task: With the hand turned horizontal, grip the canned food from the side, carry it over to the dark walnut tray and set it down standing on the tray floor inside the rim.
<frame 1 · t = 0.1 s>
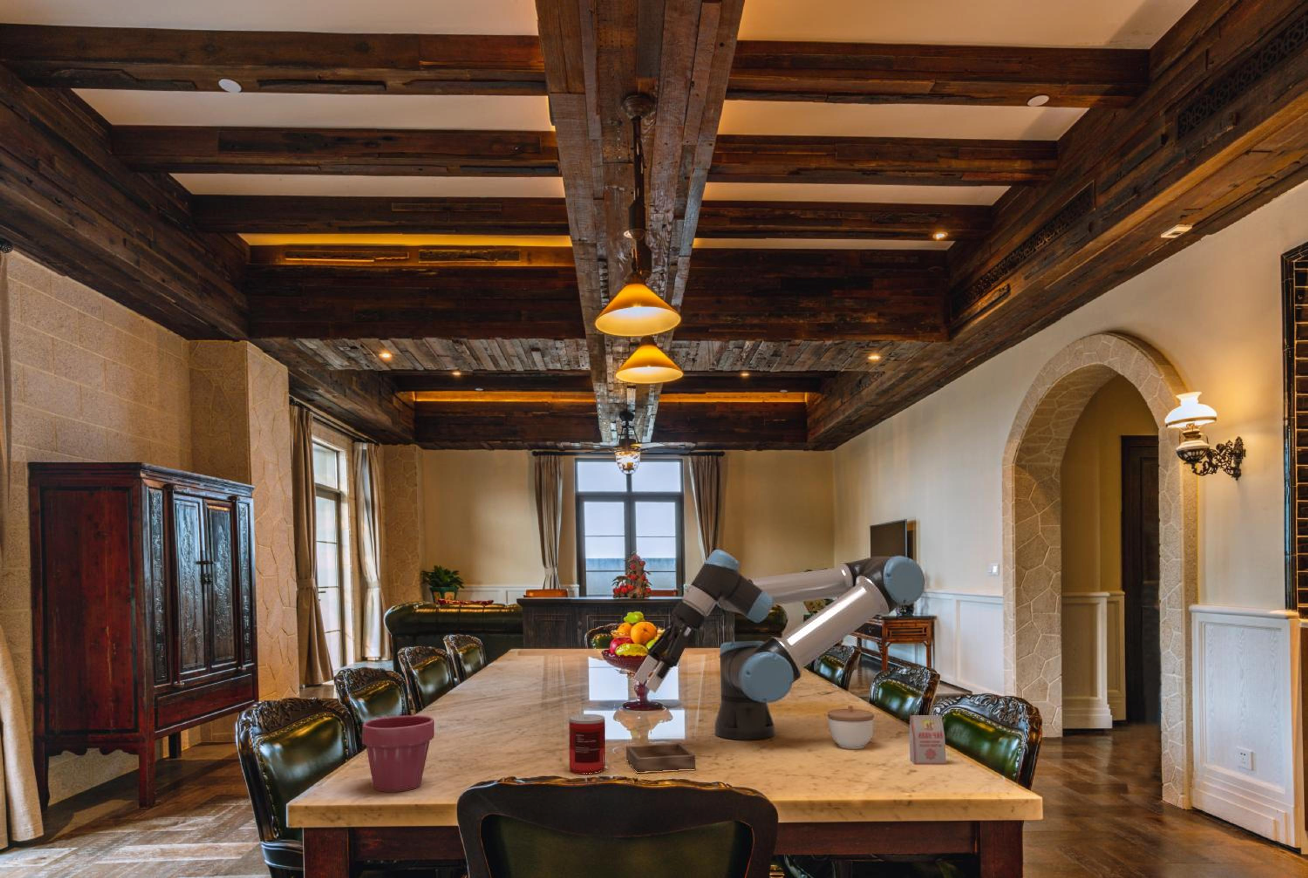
hand: (643, 685, 206), 15 cm above the table, tool tilted 35°, fingers open, 13 cm apart
walnut tray: (660, 765, 192), on the table
lidded jar: (851, 747, 209), on the table
white tea box: (928, 763, 192), on the table
plant pot: (397, 787, 178), on the table
canned food: (587, 771, 189), on the table
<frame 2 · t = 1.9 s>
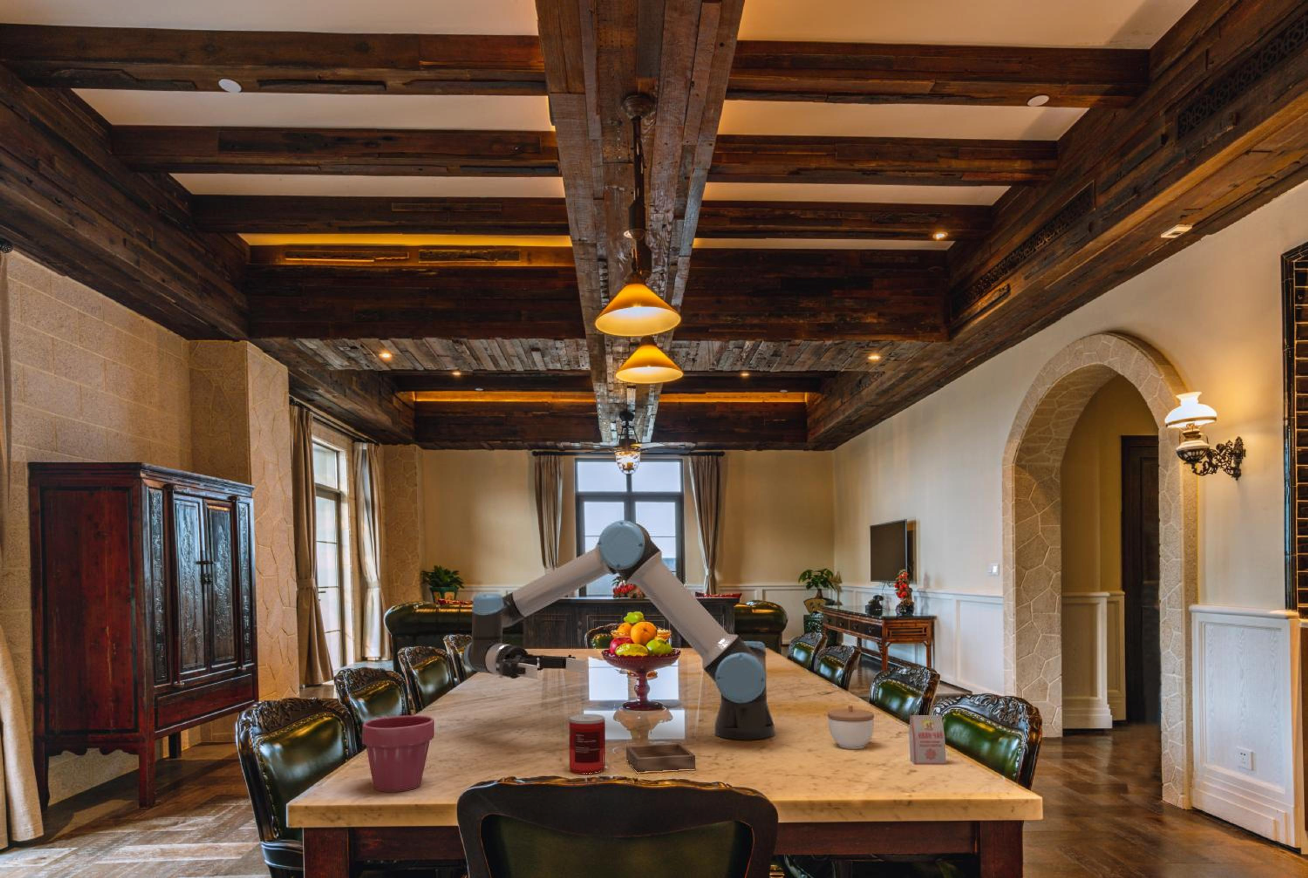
hand: (560, 669, 198), 20 cm above the table, tool horizontal, fingers open, 13 cm apart
nothing on the table moved.
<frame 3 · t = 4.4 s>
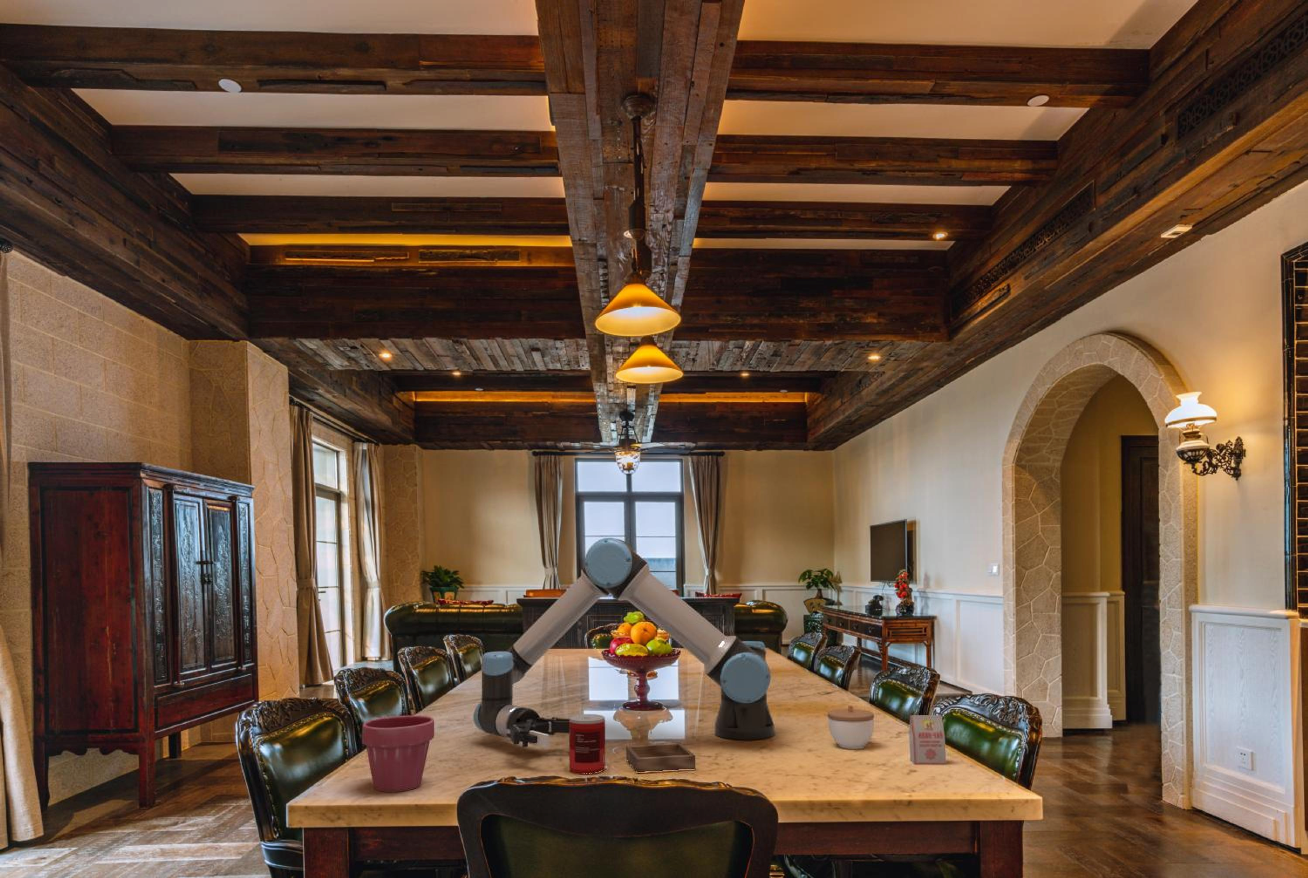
hand: (573, 736, 192), 6 cm above the table, tool horizontal, fingers open, 13 cm apart
nothing on the table moved.
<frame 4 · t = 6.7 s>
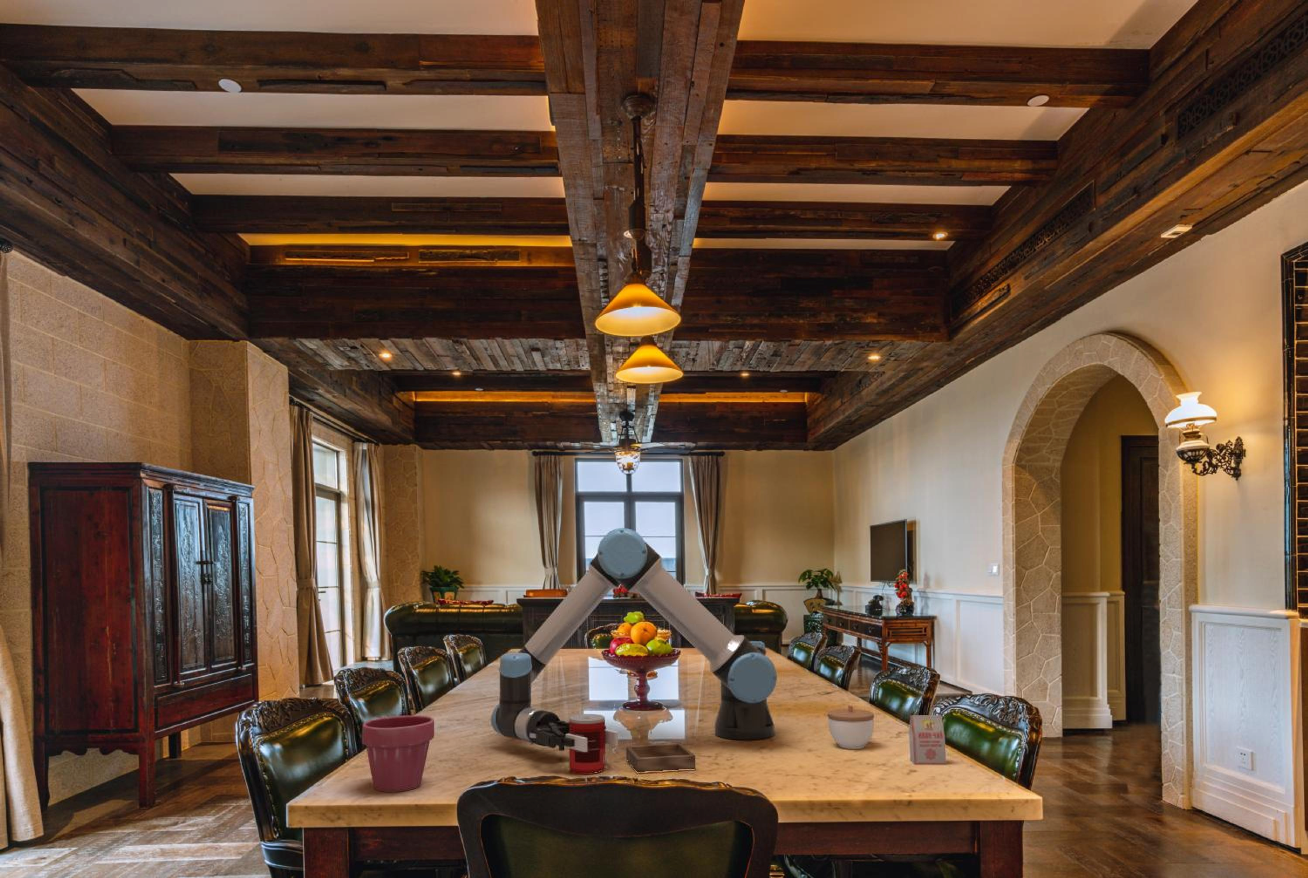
hand: (601, 741, 186), 7 cm above the table, tool horizontal, fingers closed on canned food, 8 cm apart
canned food: (587, 770, 189), on the table, touching gripper
everything else where it was.
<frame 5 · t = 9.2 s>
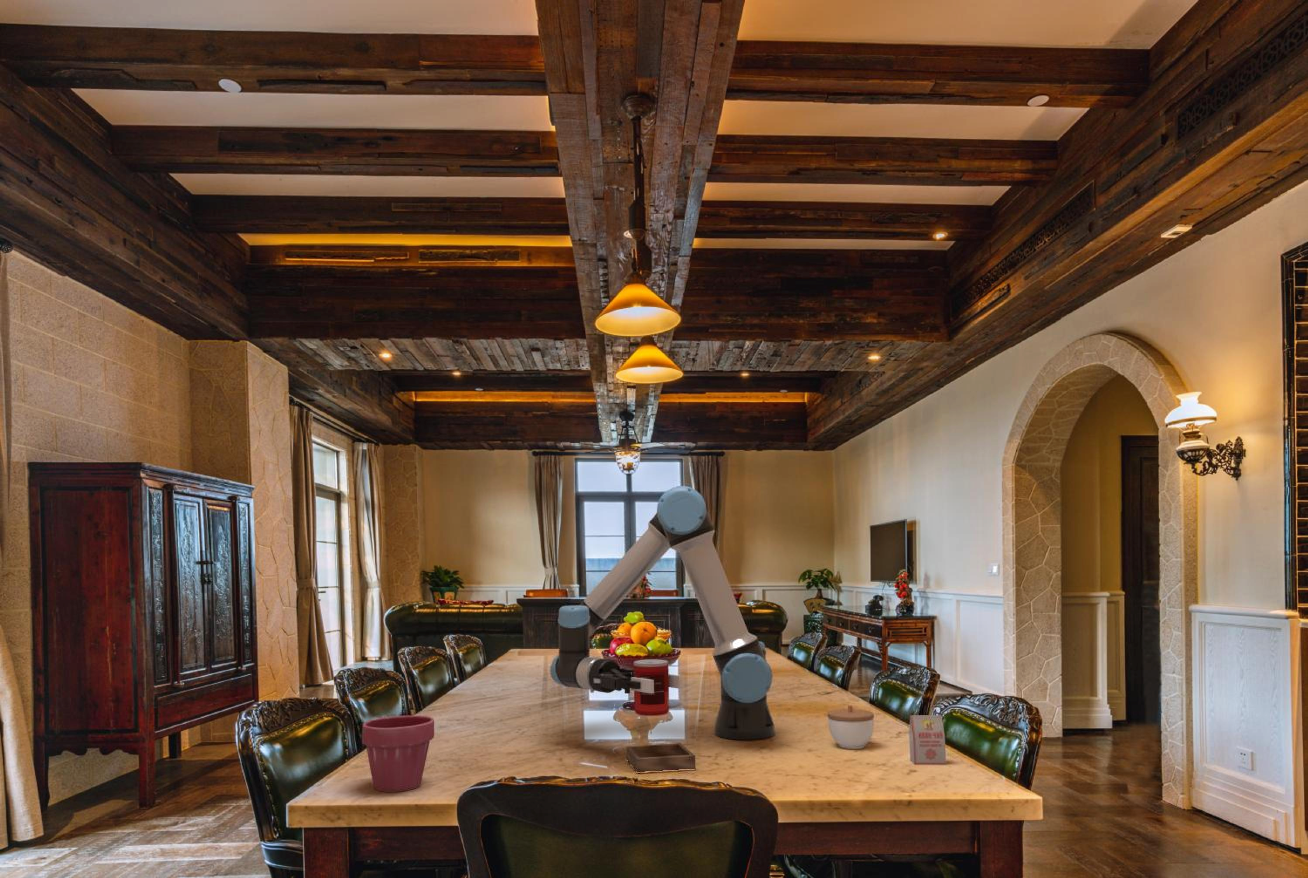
hand: (666, 684, 191), 18 cm above the table, tool horizontal, fingers closed on canned food, 8 cm apart
canned food: (651, 713, 194), point 11 cm above the table, touching gripper
everything else where it was.
when the fingers open (8 cm above the table, at t = 12.0 s): canned food drops 1 cm, resting on walnut tray.
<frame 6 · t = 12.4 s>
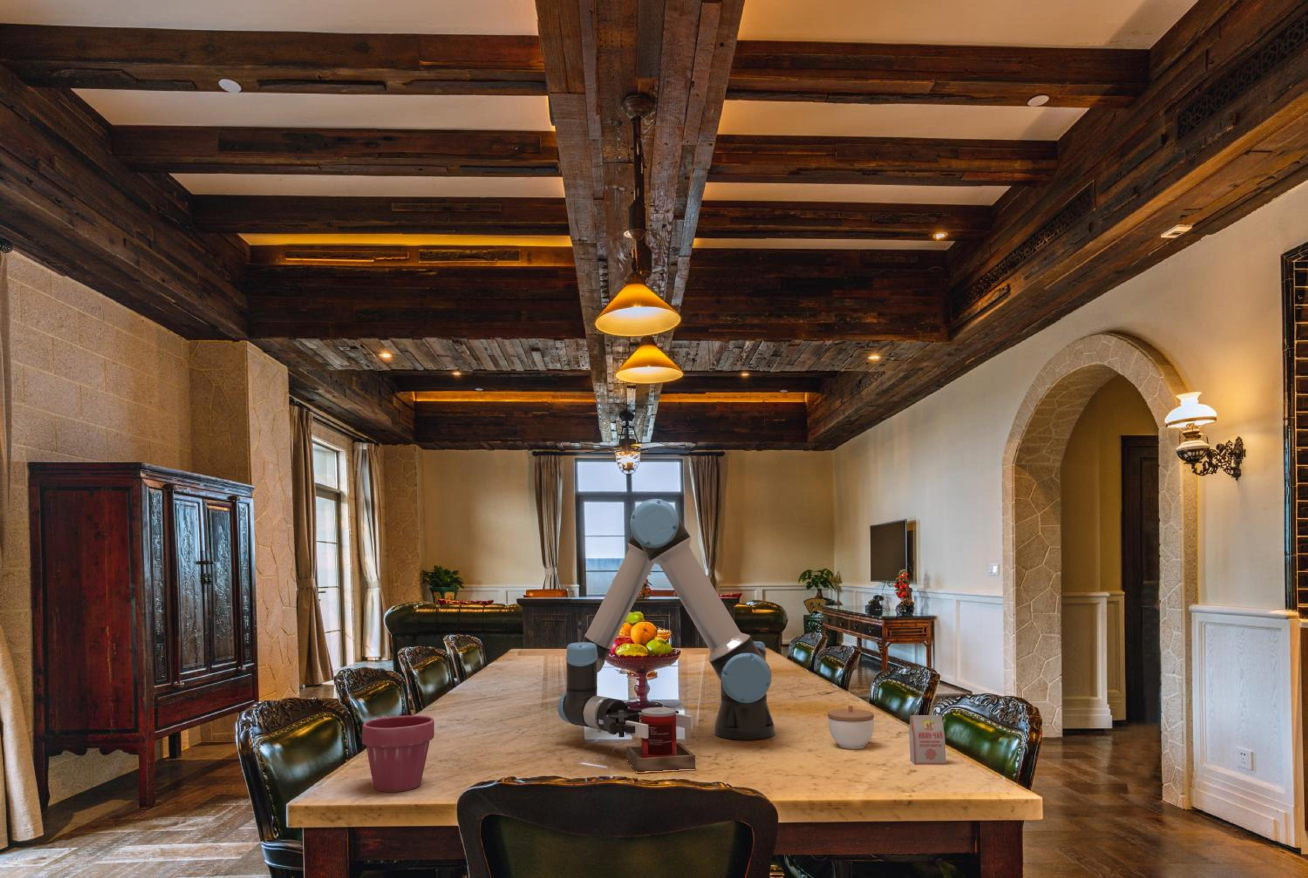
hand: (670, 727, 191), 8 cm above the table, tool horizontal, fingers open, 13 cm apart
canned food: (659, 763, 192), resting on walnut tray
everything else where it was.
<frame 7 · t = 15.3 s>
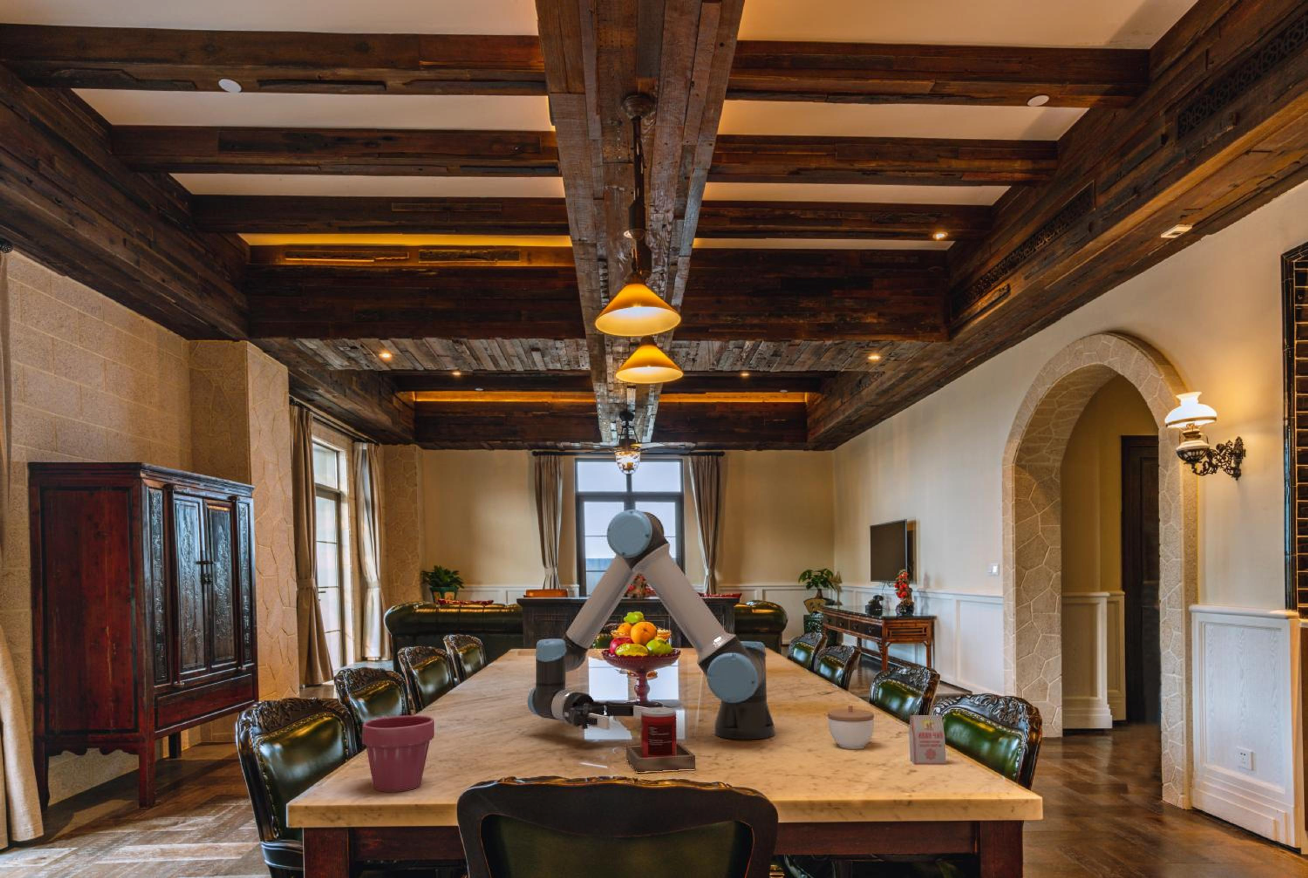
hand: (631, 719, 200), 9 cm above the table, tool horizontal, fingers open, 13 cm apart
nothing on the table moved.
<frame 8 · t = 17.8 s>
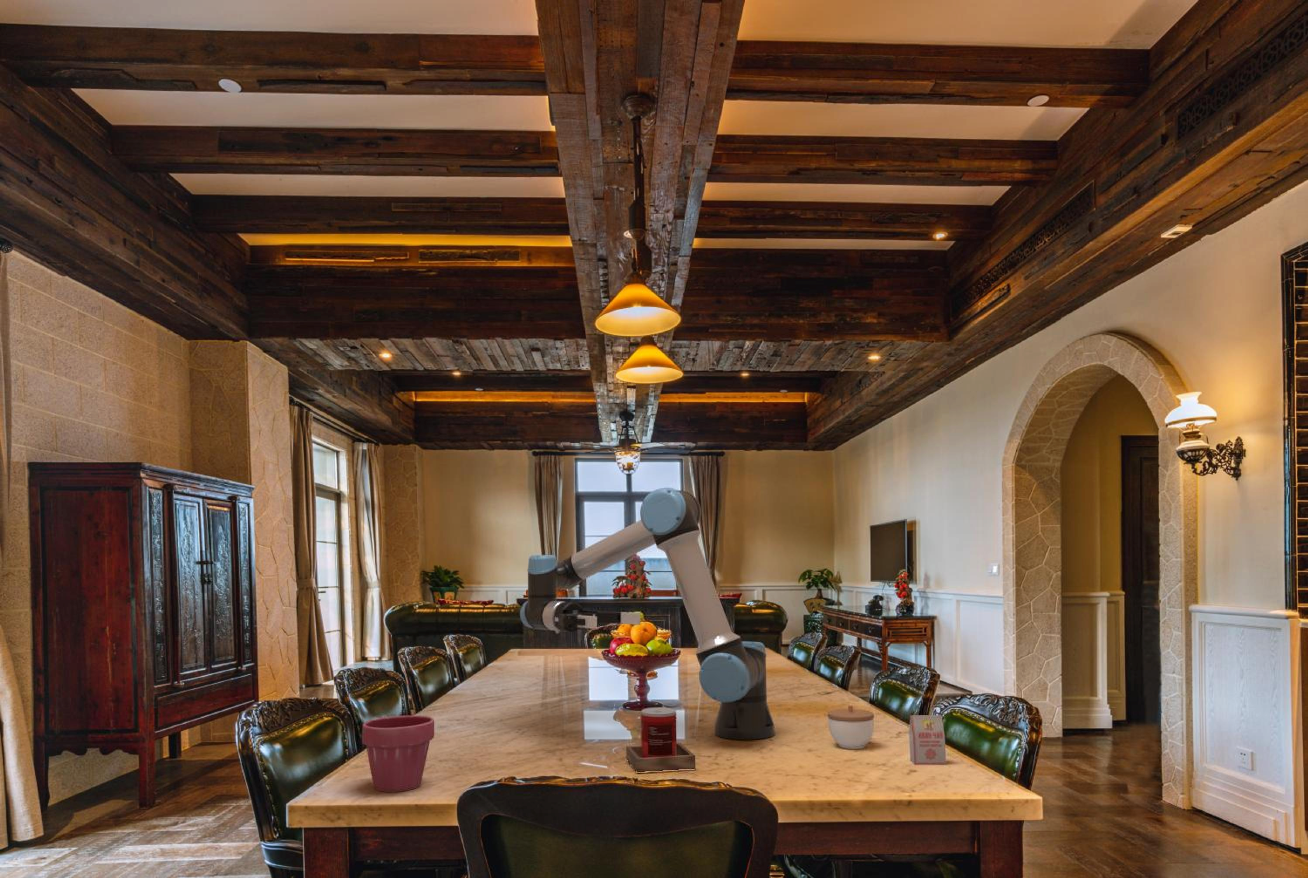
hand: (618, 620, 209), 30 cm above the table, tool horizontal, fingers open, 13 cm apart
nothing on the table moved.
at the end: canned food 0.2 cm off-centre on the walnut tray, point 0.4 cm above the walnut tray's base; canned food tilted 0°; the gripper is holding nothing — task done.
